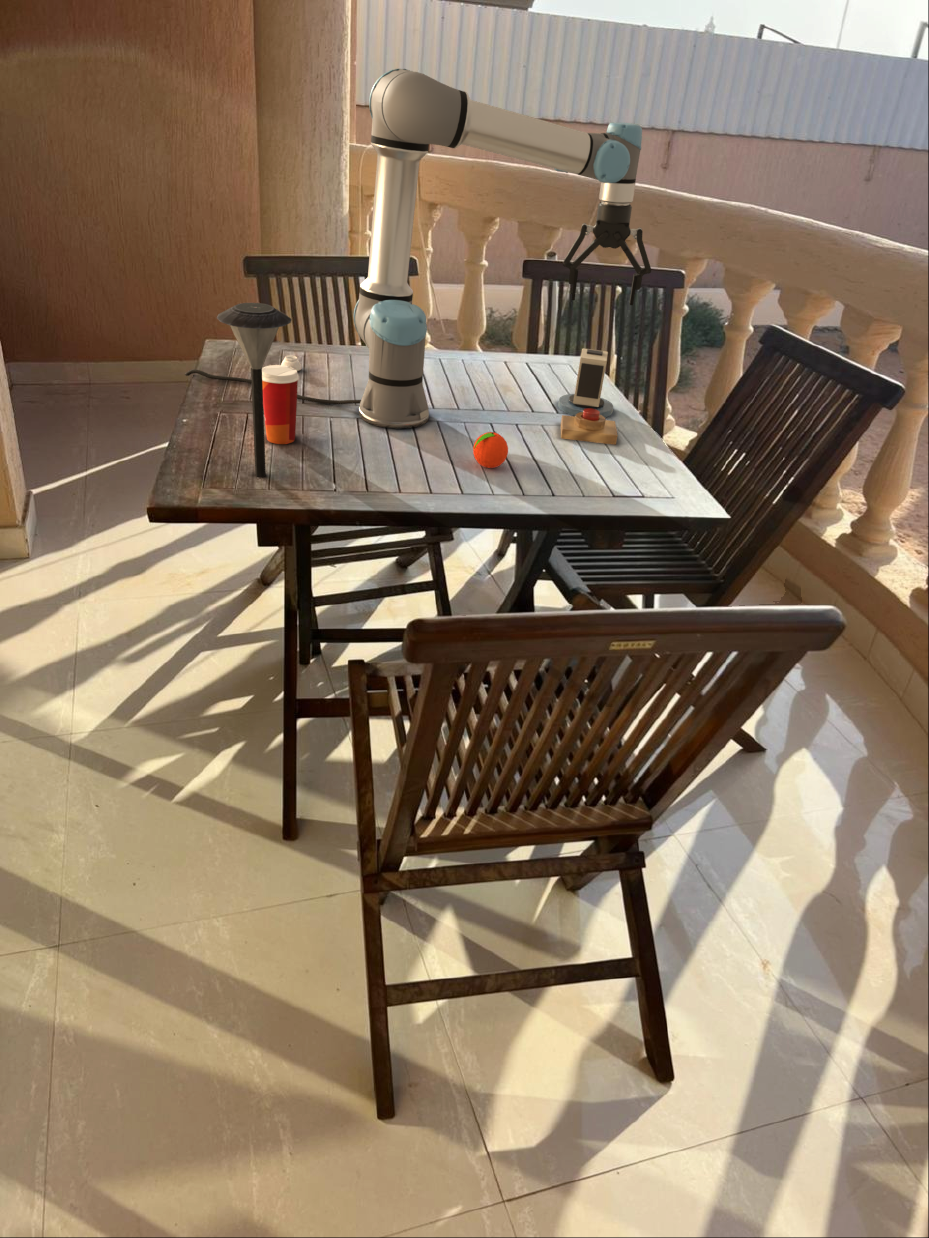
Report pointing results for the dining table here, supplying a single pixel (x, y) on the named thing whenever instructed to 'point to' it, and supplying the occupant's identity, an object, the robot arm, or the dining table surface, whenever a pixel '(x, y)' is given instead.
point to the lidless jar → (292, 362)
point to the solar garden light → (255, 357)
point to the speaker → (590, 379)
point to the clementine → (490, 450)
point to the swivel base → (574, 409)
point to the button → (591, 414)
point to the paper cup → (280, 402)
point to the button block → (588, 429)
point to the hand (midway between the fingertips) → (602, 301)
